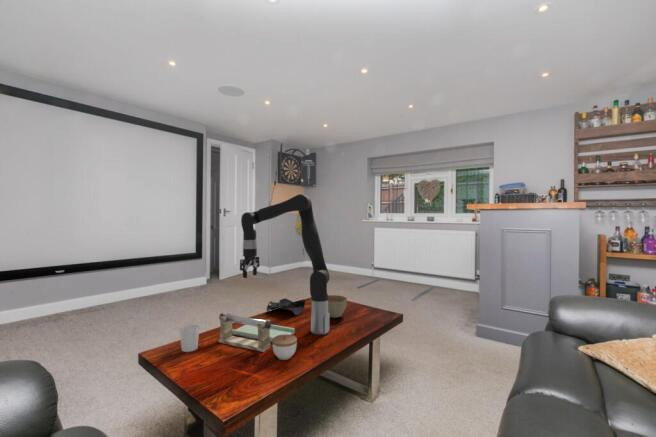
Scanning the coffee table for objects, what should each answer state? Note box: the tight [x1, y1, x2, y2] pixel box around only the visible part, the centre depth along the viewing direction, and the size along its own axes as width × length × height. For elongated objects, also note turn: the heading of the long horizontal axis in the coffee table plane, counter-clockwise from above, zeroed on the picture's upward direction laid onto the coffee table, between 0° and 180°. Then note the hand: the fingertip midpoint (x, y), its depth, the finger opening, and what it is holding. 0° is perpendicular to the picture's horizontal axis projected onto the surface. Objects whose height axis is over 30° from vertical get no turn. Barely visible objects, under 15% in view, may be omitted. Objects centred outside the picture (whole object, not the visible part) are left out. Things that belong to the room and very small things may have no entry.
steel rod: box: [218, 312, 272, 329], centre depth 143 cm, size 28×3×3 cm, turn 67°
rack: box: [218, 313, 272, 353], centre depth 143 cm, size 26×6×12 cm, turn 67°
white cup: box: [179, 324, 200, 353], centre depth 137 cm, size 8×8×10 cm
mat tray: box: [232, 323, 296, 343], centre depth 157 cm, size 30×15×2 cm, turn 67°
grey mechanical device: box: [266, 298, 306, 315], centre depth 191 cm, size 18×20×9 cm
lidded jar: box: [271, 334, 298, 361], centre depth 131 cm, size 11×11×9 cm
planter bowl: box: [328, 294, 348, 319], centre depth 186 cm, size 16×16×11 cm
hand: (250, 276), depth 168 cm, fingers open, 8 cm apart
